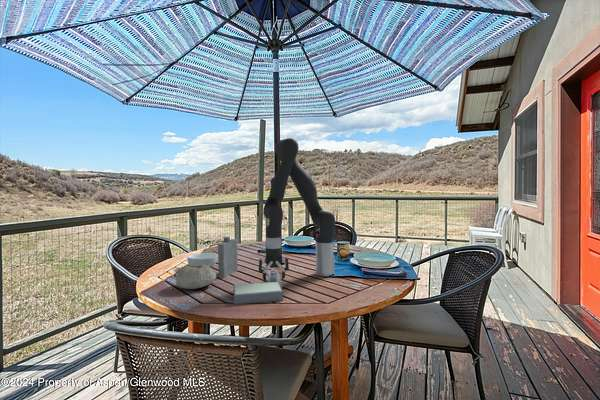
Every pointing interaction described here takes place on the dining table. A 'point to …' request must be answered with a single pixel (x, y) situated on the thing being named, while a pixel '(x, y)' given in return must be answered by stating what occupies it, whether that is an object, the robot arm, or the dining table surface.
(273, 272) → the housing
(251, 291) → the stand
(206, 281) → the beige squat rounded piece
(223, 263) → the hip flask
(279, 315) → the dining table surface
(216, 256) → the cereal bowl
